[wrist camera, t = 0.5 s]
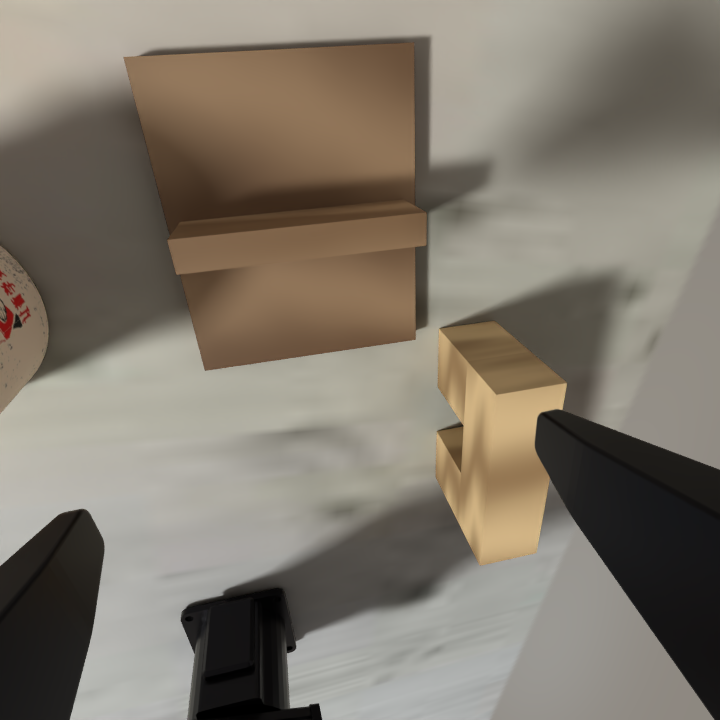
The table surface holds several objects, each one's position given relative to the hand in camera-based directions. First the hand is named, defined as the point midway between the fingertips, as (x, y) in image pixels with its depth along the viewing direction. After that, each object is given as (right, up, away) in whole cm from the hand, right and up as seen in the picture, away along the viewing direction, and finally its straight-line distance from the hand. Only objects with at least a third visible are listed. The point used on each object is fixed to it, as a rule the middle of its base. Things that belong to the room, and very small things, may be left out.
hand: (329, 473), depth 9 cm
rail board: (-2, +8, +10) cm, 13 cm away
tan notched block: (+6, 0, +17) cm, 18 cm away
